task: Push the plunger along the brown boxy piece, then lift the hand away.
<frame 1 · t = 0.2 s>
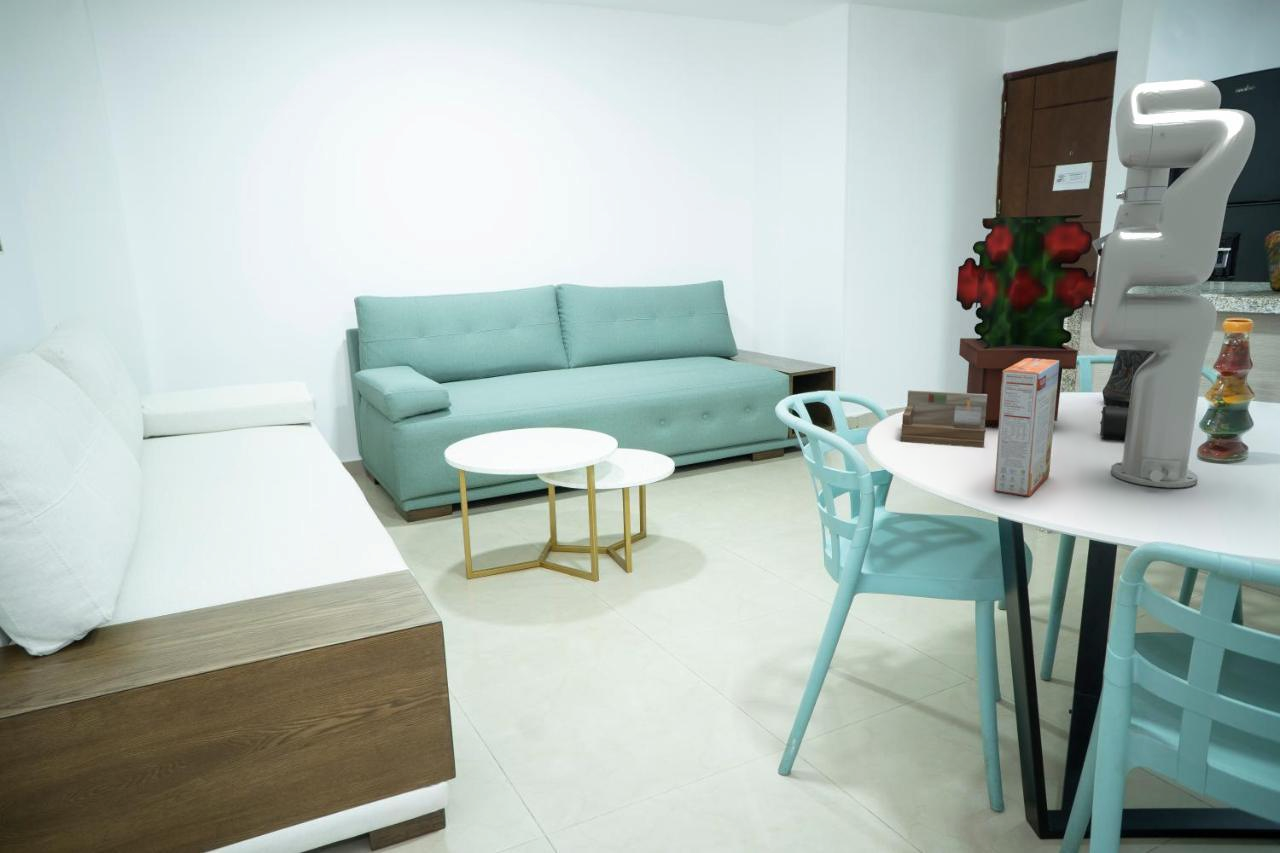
hand: (1134, 280, 168), 31 cm above the table, tool pointing down, fingers open, 9 cm apart
plunger: (967, 416, 164), point 5 cm above the table, slide at 0.0 cm
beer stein: (1143, 408, 188), on the table
brown boxy piece: (943, 436, 167), on the table
cracker box: (1020, 485, 135), on the table
potted plant: (1008, 421, 179), on the table
end cap: (1126, 440, 161), on the table
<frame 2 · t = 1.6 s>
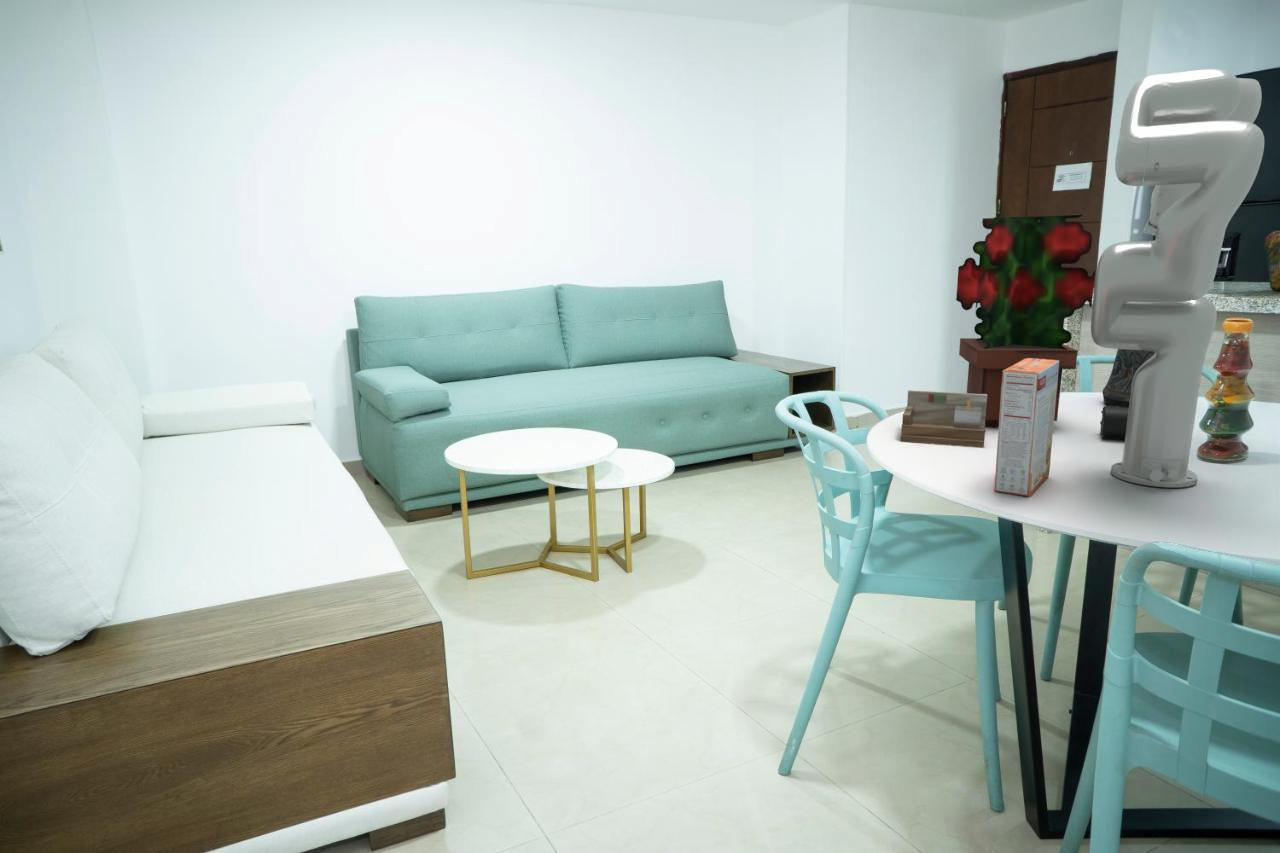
hand: (1173, 264, 151), 35 cm above the table, tool pointing down, fingers closed
nothing on the table moved.
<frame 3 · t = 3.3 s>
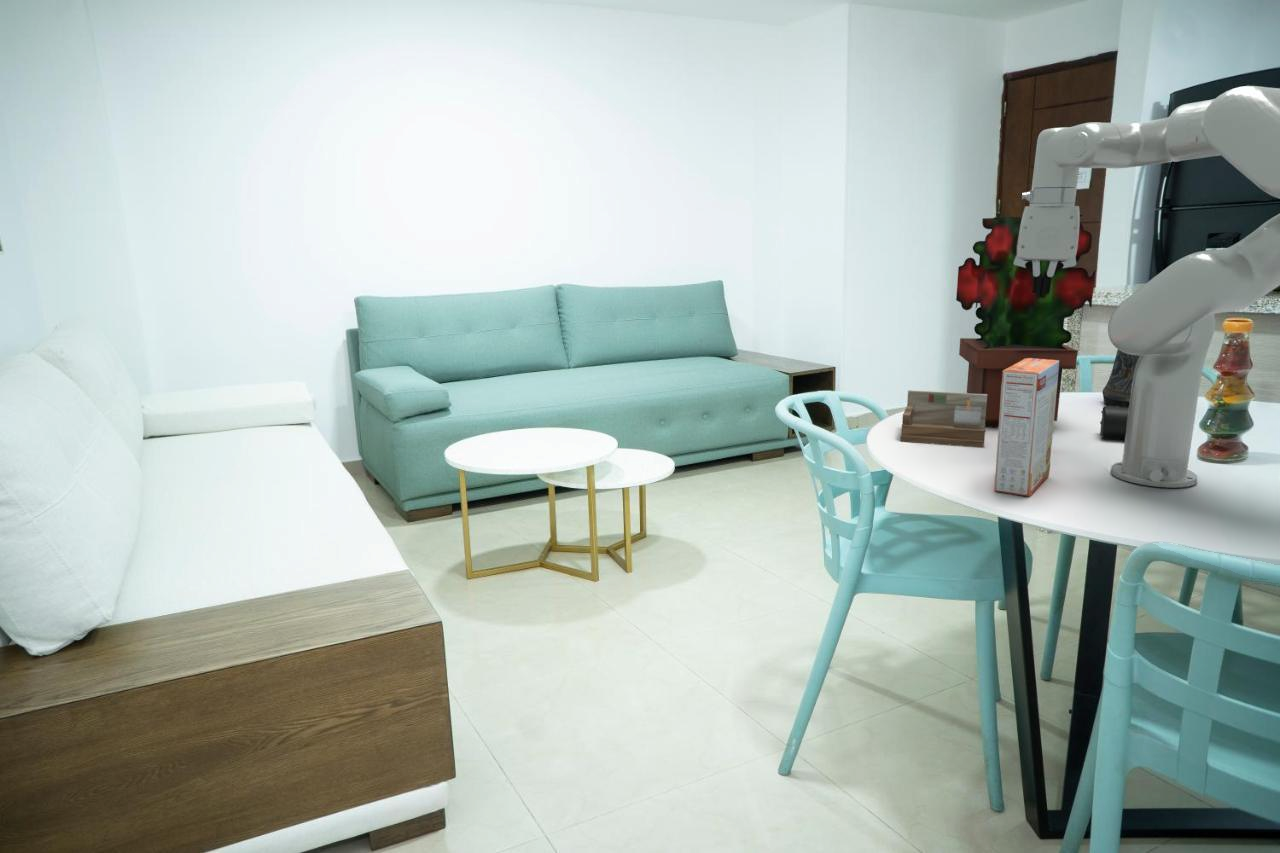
hand: (1040, 297, 151), 30 cm above the table, tool pointing down, fingers closed
nothing on the table moved.
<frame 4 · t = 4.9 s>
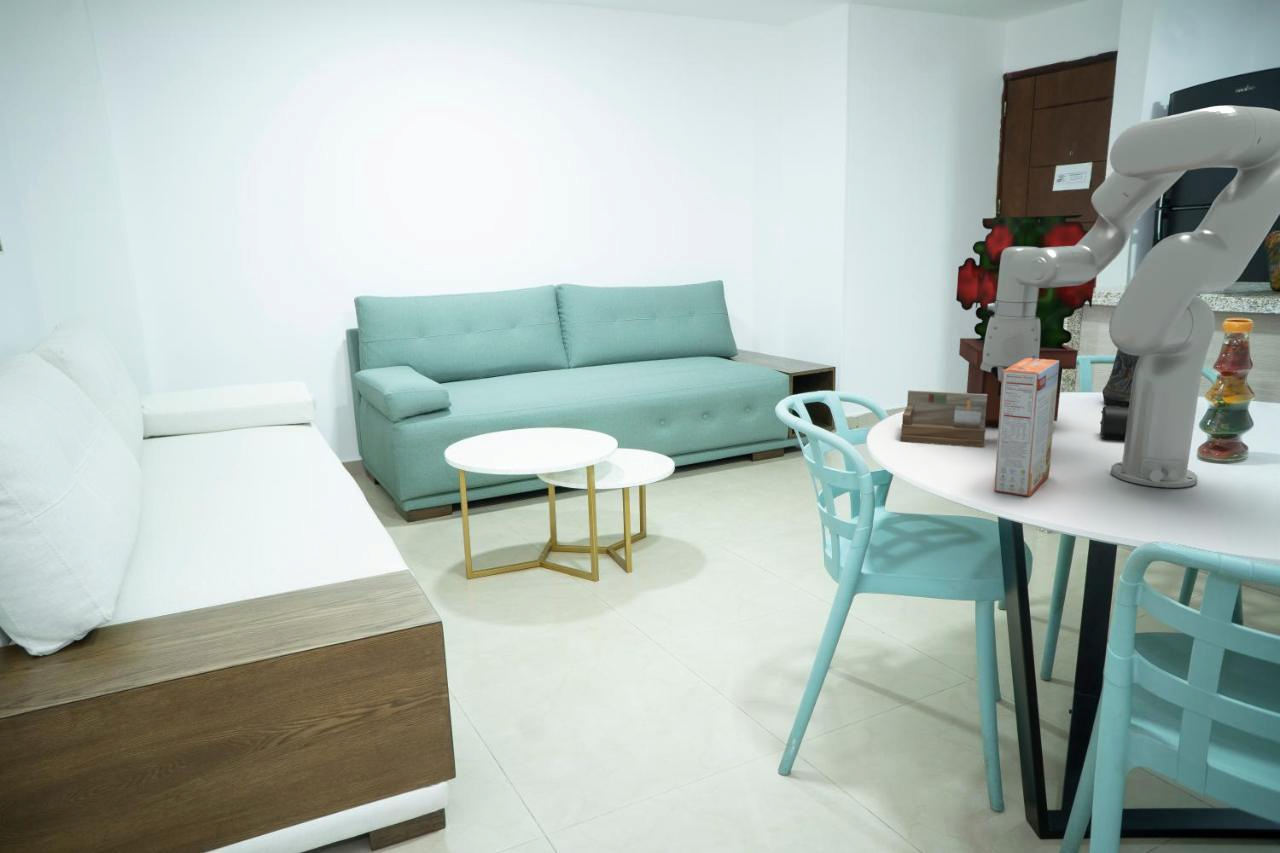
hand: (1005, 399, 161), 9 cm above the table, tool pointing down, fingers closed
nothing on the table moved.
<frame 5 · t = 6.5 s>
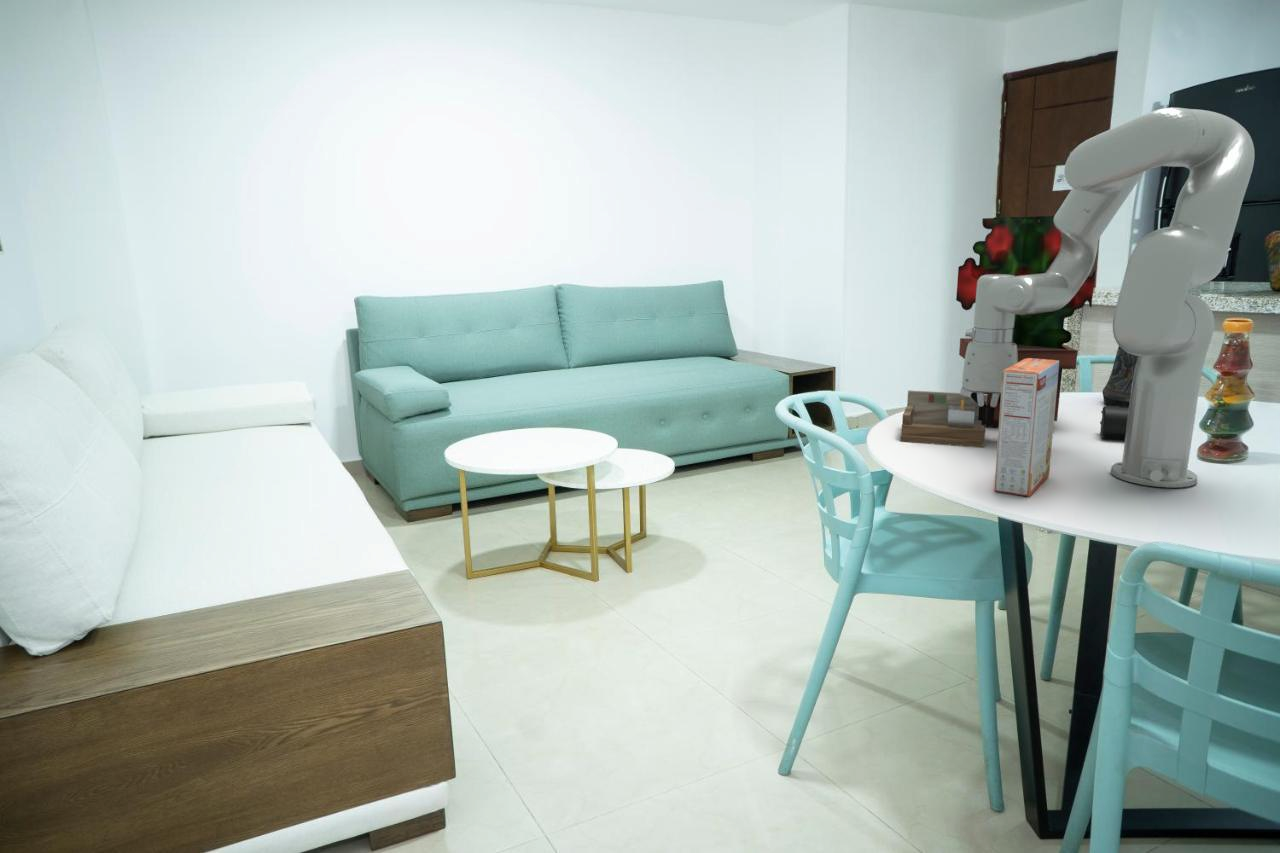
hand: (985, 424, 163), 3 cm above the table, tool pointing down, fingers closed
plunger: (961, 416, 164), point 5 cm above the table, slide at 1.2 cm, touching gripper
everything else where it was.
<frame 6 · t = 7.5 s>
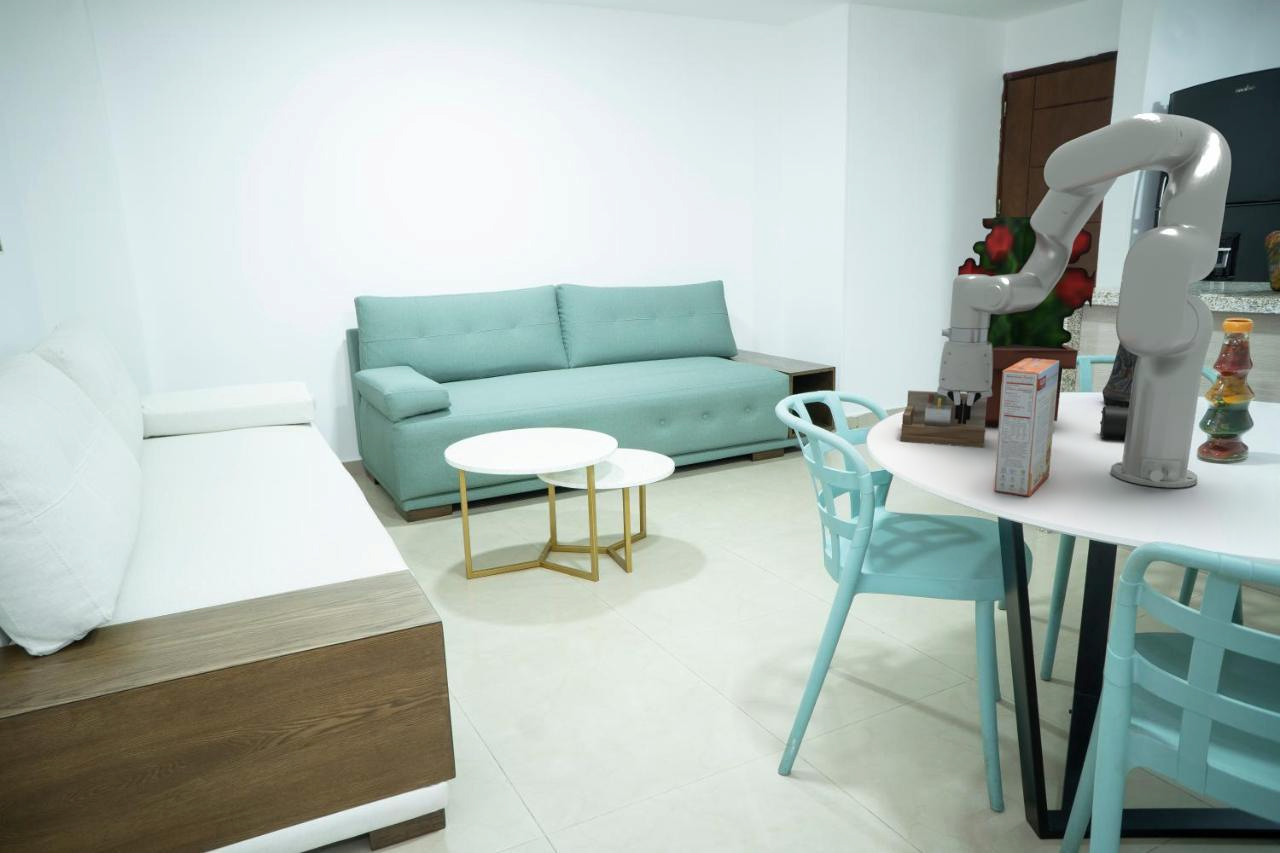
hand: (962, 422, 165), 3 cm above the table, tool pointing down, fingers closed
plunger: (938, 415, 166), point 5 cm above the table, slide at 5.7 cm, touching gripper
everything else where it was.
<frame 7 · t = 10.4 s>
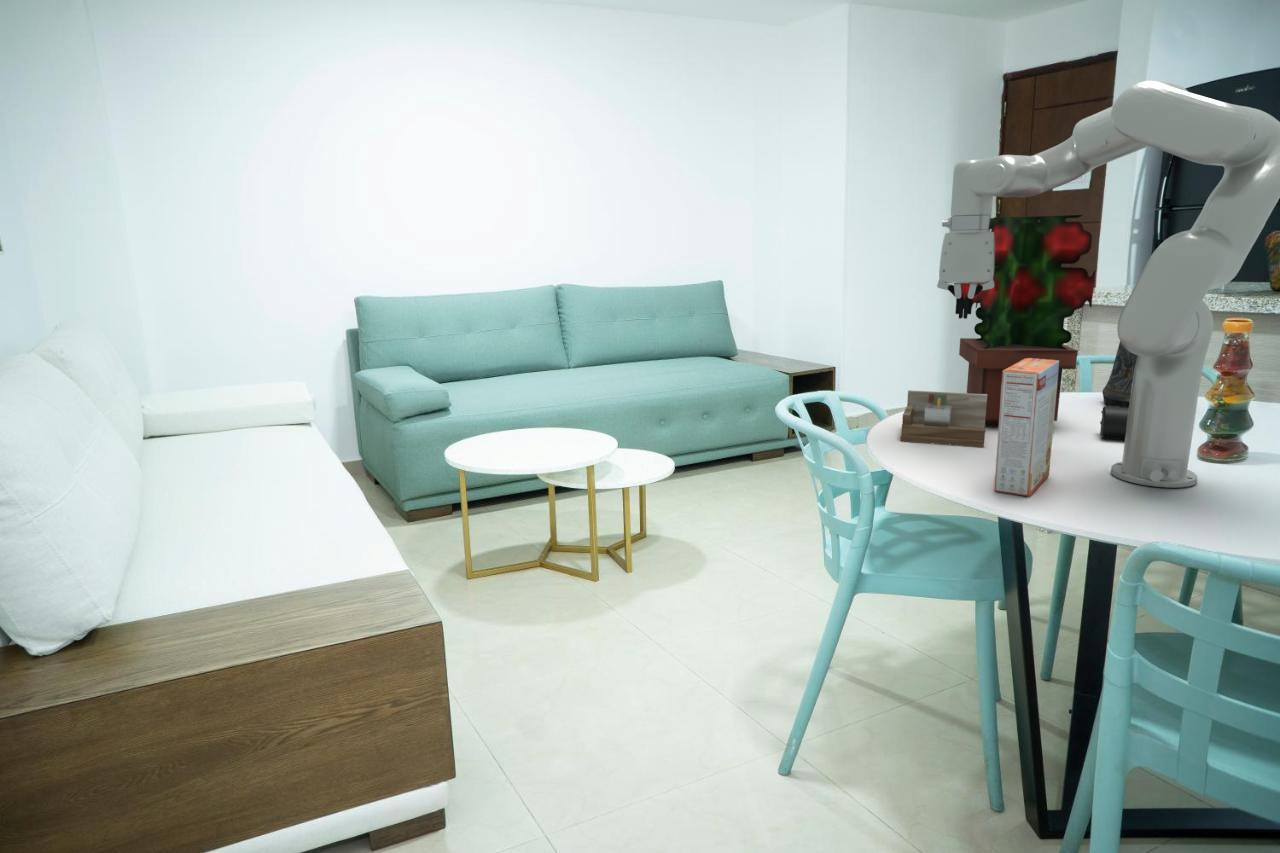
hand: (962, 317, 160), 25 cm above the table, tool pointing down, fingers closed
plunger: (937, 415, 166), point 5 cm above the table, slide at 5.8 cm
everything else where it was.
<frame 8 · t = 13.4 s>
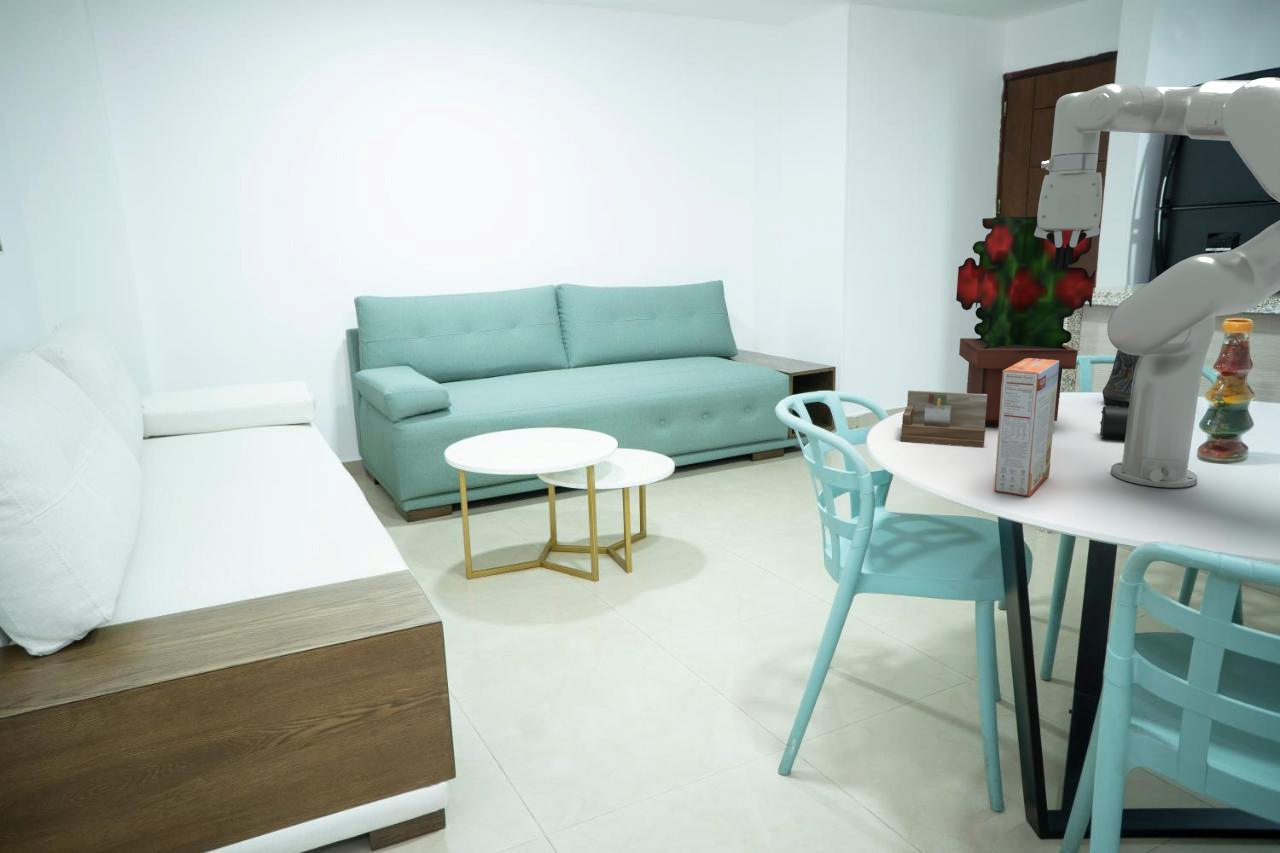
hand: (1062, 268, 147), 35 cm above the table, tool pointing down, fingers closed
nothing on the table moved.
at the end: plunger slide at 5.8 cm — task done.
